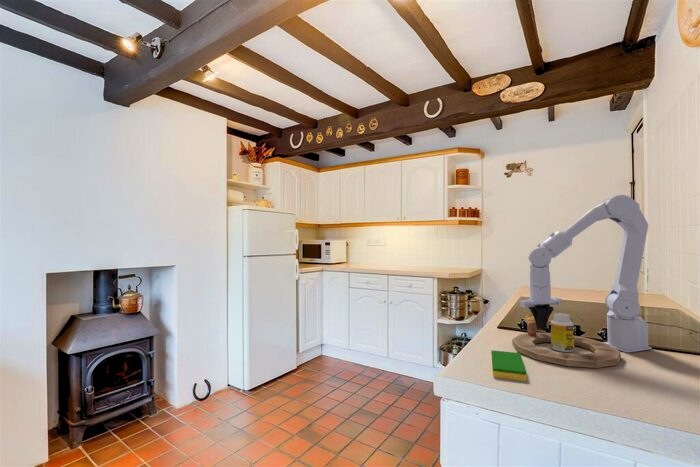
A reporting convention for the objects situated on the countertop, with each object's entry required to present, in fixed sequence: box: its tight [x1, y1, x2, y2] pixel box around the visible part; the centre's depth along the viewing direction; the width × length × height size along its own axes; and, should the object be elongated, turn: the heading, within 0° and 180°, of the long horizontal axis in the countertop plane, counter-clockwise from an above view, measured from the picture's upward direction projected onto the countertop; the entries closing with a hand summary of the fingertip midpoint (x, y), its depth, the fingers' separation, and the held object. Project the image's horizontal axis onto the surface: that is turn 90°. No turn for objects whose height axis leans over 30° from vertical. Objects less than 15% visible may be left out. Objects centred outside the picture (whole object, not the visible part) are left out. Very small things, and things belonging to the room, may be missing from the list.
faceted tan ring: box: [511, 321, 622, 369], centre depth 95 cm, size 25×25×6 cm
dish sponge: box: [490, 350, 527, 382], centre depth 84 cm, size 7×14×2 cm, turn 158°
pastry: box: [522, 314, 551, 330], centre depth 121 cm, size 9×7×4 cm
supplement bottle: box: [550, 312, 575, 353], centre depth 96 cm, size 6×6×10 cm
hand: (541, 328), depth 106 cm, fingers closed
